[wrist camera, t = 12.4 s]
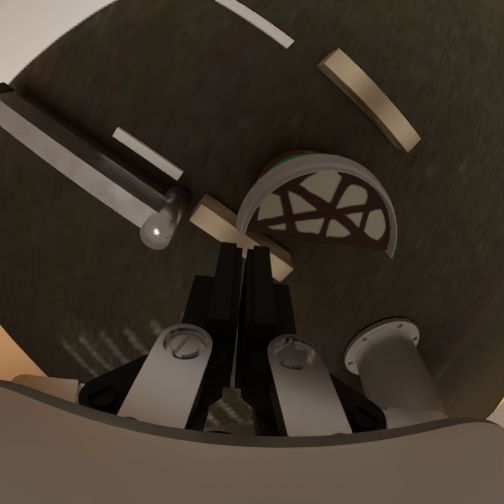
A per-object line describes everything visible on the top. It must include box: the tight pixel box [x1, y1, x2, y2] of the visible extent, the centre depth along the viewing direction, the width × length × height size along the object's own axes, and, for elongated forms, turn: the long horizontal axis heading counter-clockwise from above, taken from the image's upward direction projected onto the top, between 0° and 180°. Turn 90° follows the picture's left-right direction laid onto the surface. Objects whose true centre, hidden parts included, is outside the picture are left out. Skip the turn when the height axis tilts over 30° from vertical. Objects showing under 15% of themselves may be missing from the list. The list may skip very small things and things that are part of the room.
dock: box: [189, 49, 421, 282], centre depth 25 cm, size 11×20×3 cm, turn 141°
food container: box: [236, 149, 397, 259], centre depth 22 cm, size 12×6×10 cm, turn 81°
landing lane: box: [113, 0, 294, 180], centre depth 22 cm, size 8×17×1 cm, turn 141°
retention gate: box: [0, 83, 189, 250], centre depth 20 cm, size 2×25×8 cm, turn 51°
